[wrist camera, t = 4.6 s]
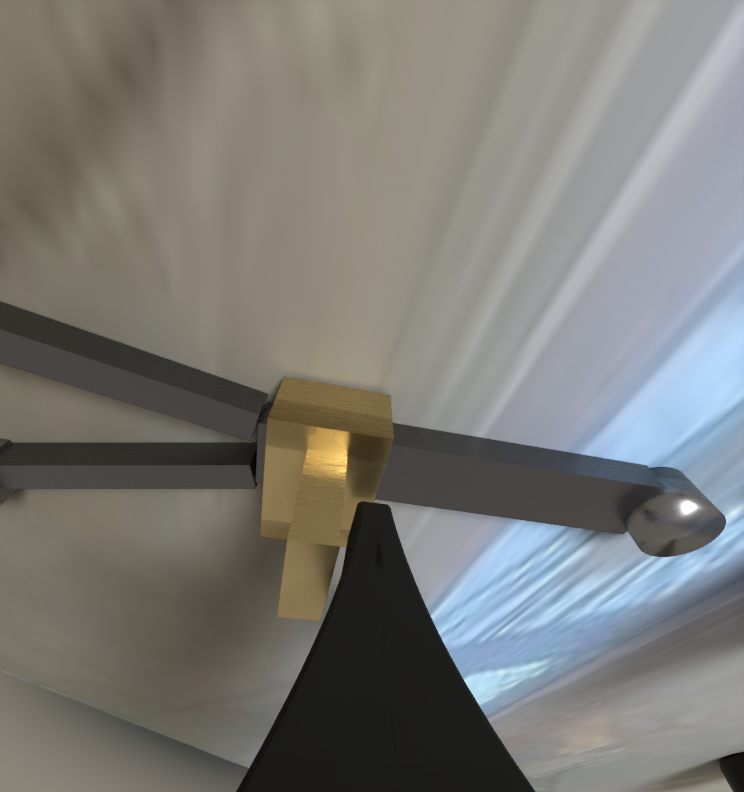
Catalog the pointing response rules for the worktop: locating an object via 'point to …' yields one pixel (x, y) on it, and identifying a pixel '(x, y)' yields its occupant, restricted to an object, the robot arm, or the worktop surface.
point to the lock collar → (319, 480)
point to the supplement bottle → (734, 771)
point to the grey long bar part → (404, 471)
